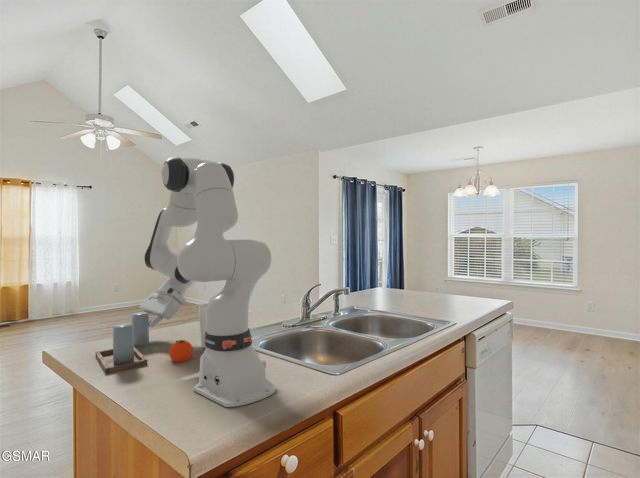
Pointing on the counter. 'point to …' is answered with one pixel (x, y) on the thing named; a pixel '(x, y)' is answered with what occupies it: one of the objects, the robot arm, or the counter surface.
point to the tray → (107, 364)
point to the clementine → (181, 351)
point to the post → (140, 328)
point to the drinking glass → (203, 323)
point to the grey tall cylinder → (123, 344)
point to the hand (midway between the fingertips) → (143, 324)
